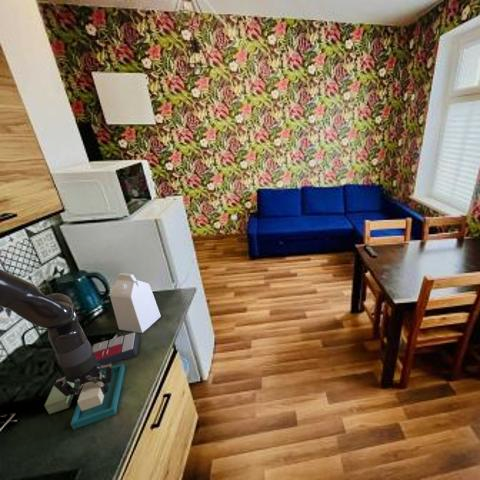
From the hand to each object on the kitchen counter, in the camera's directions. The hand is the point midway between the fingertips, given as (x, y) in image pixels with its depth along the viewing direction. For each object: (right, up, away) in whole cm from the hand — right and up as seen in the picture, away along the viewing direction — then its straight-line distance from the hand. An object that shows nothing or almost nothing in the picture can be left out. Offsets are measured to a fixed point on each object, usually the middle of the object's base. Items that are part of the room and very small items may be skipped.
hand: (94, 395), depth 85 cm
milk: (-12, +11, +39) cm, 42 cm away
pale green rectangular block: (-13, -4, +4) cm, 14 cm away
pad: (0, 0, 0) cm, 0 cm away
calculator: (-10, +4, +22) cm, 25 cm away
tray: (-2, -3, +5) cm, 7 cm away
